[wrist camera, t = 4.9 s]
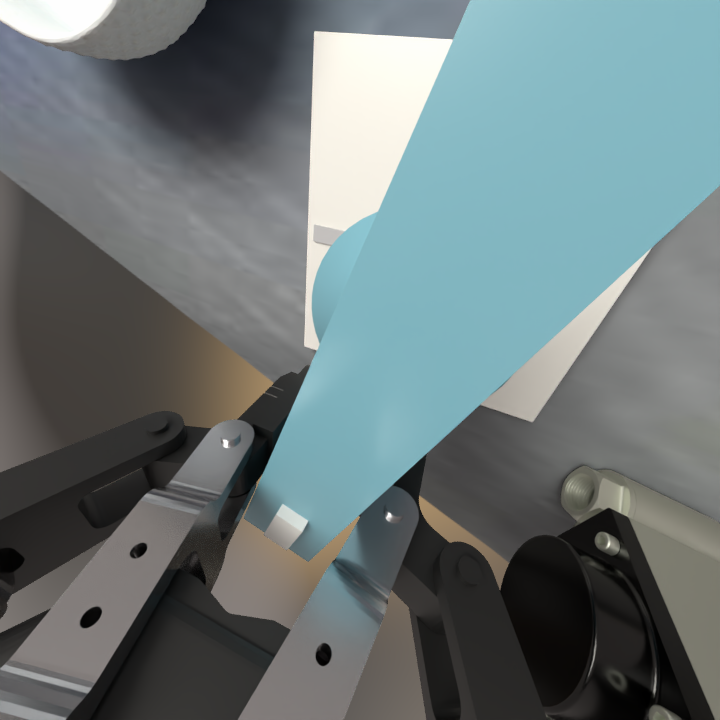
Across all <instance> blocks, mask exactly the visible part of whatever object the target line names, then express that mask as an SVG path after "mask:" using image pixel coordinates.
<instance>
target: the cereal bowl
mask: <svg viewBox="0 0 720 720" xmlns="http://www.w3.org/2000/svg"><path fill="white" fill-rule="evenodd" d="M206 1H207V0H0V21H2V22H3V23H4V24H6V25H8V26H9V27H11V28H12V29H14V30H16V31H17V32H19V33H21V34H22V35H24V36H26V37H29V38H31V39H33V40H36V41H38V42H40V43H42V44H44V45H45V46H52V47H55V48H57V49H60V50H62V51H71V52H74V53H76V54H79V55H82V56H91V57H94V58H97V59H102V58H106V59H110V60H118V59H121V60H129V59H133V58H142V57H144V56H147V55H154V54H156V53H157V52H158V51H160V50H165V49H166V48H167V47H168V46H169V45H170V44H173V43H174V42H175V41H176V40H178V39H179V37H180V35H182V34H184V33H185V32H186V31H187V29H188V27H189V26H190V25H191V24H193V23H194V21H195V20H196V17H197V15H198V14H199V13H200V12H201V10H202V9H204V8H205V2H206Z"/></svg>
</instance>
